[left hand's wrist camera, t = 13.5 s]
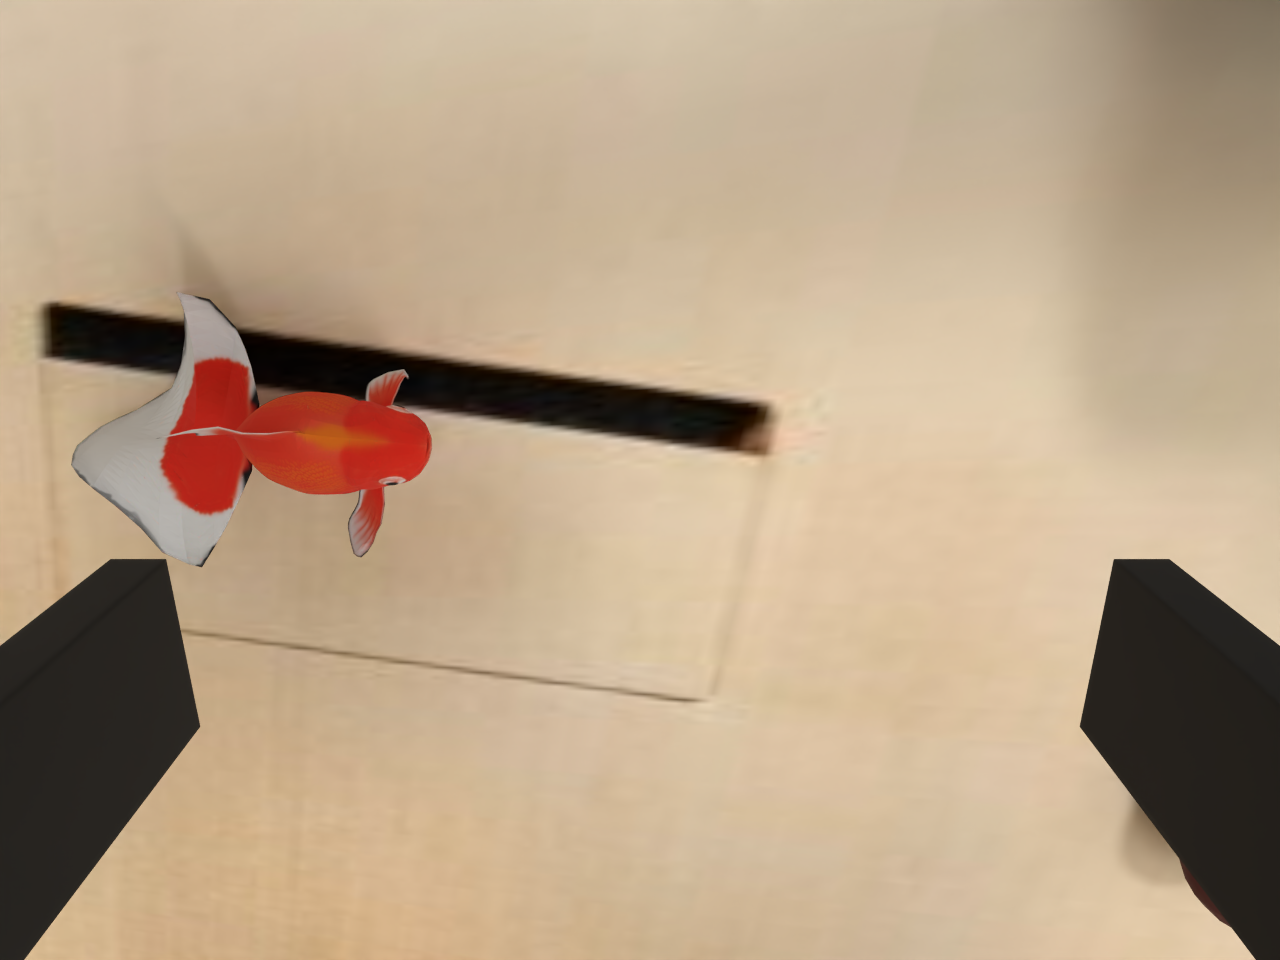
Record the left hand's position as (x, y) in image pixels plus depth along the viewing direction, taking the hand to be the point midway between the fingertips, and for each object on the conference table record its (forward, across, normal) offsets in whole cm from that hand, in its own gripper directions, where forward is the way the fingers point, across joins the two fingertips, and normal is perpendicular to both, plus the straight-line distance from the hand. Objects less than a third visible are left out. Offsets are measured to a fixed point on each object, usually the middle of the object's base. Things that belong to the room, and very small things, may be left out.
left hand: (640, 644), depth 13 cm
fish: (+28, -16, -5) cm, 32 cm away
